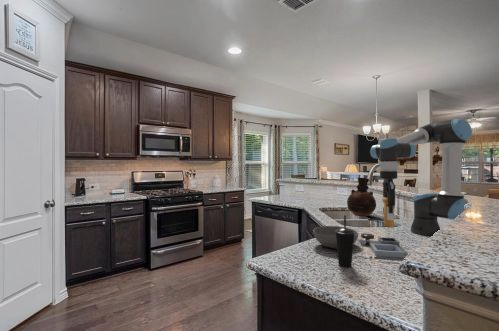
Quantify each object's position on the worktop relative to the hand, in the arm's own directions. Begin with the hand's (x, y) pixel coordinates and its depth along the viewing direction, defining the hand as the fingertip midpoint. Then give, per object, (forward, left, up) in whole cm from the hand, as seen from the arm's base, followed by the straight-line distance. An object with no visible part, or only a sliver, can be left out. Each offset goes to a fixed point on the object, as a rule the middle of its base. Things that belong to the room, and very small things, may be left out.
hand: (389, 218), depth 135 cm
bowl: (+25, +4, -14) cm, 29 cm away
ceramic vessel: (-1, -85, -14) cm, 86 cm away
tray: (+4, +13, -14) cm, 20 cm away
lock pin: (0, 0, -4) cm, 4 cm away
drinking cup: (+23, +29, -14) cm, 40 cm away
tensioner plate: (+4, 0, -14) cm, 15 cm away
